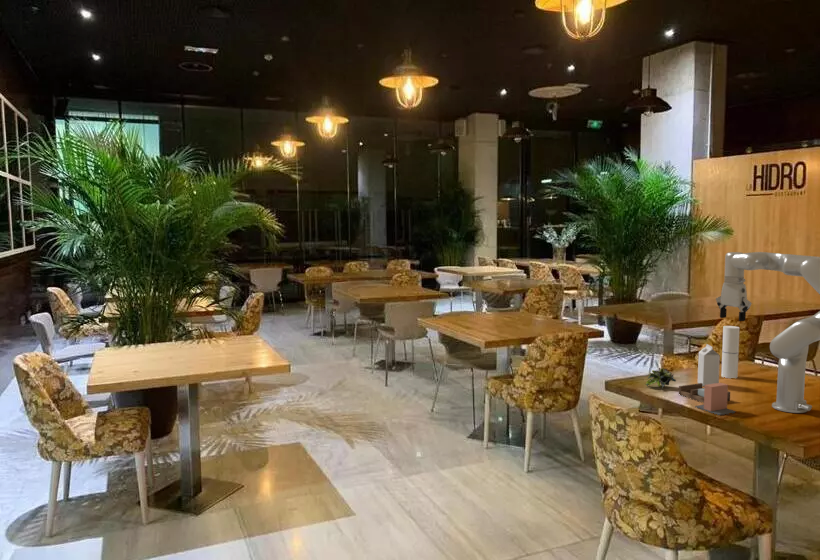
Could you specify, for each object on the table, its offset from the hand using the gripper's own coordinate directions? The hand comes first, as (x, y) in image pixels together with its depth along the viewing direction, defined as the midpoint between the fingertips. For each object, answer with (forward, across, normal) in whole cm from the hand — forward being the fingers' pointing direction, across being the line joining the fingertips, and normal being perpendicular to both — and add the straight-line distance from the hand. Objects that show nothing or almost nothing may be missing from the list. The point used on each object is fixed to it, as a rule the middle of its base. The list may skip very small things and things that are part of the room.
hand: (732, 319), depth 272 cm
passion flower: (+35, +22, +18) cm, 45 cm away
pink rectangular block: (+34, -13, +23) cm, 43 cm away
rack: (+34, +2, +13) cm, 37 cm away
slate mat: (+34, -13, +23) cm, 43 cm away
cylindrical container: (+34, +24, -28) cm, 50 cm away
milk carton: (+34, +17, -6) cm, 39 cm away
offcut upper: (+32, -2, +14) cm, 35 cm away
